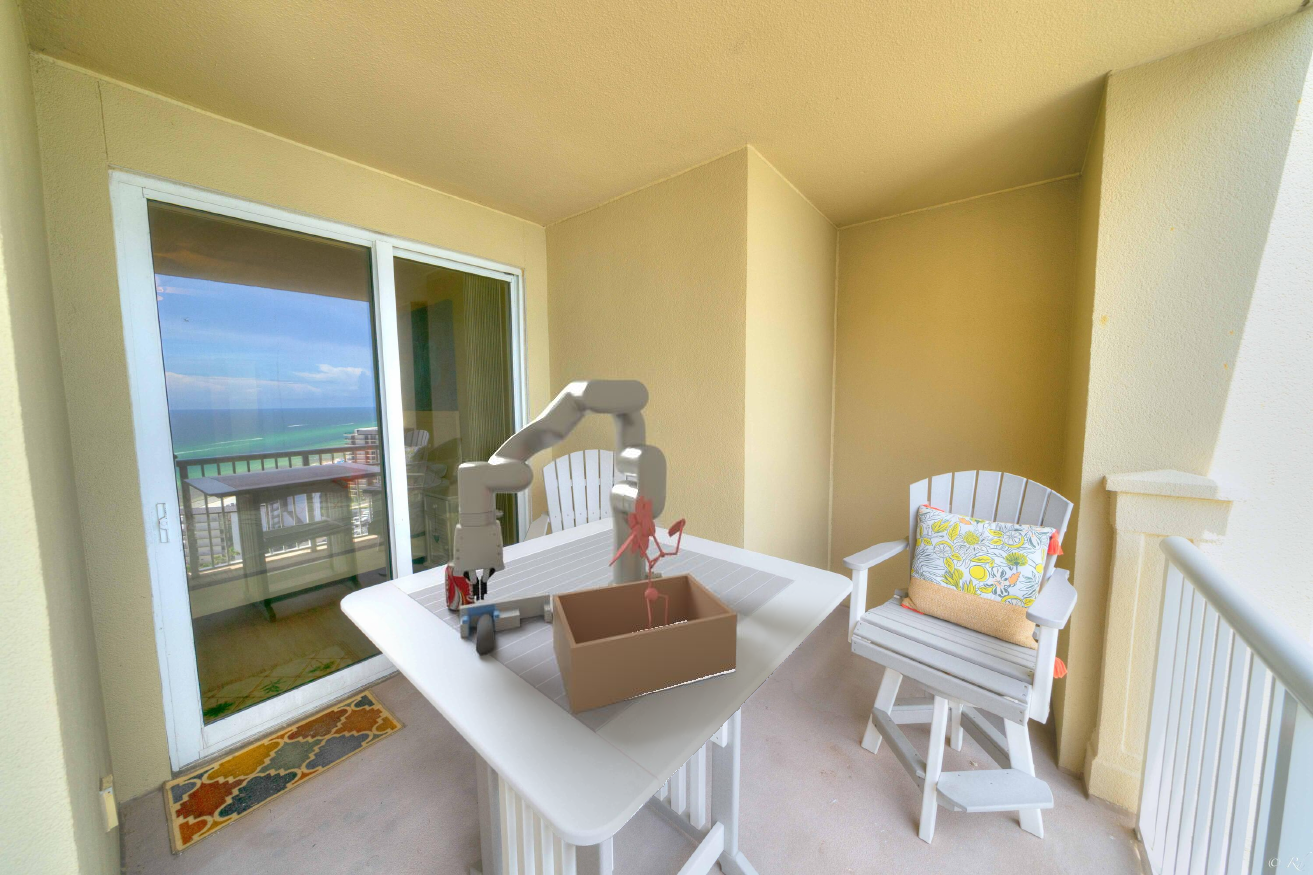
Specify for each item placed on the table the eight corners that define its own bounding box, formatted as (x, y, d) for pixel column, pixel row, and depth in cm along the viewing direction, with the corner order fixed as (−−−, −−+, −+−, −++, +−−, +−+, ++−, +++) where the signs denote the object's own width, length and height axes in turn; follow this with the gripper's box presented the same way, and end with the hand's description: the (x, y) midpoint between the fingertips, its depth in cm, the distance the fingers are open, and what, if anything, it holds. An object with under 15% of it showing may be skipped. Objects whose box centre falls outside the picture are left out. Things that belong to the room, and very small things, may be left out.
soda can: (464, 613, 110) (462, 567, 109) (439, 610, 112) (438, 565, 111) (480, 600, 117) (479, 558, 116) (457, 598, 119) (456, 556, 118)
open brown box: (688, 619, 107) (688, 573, 106) (735, 671, 87) (736, 614, 86) (553, 647, 95) (552, 594, 94) (571, 714, 75) (571, 648, 74)
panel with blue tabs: (549, 610, 112) (549, 592, 111) (552, 620, 107) (552, 601, 106) (460, 625, 104) (459, 605, 104) (459, 637, 99) (458, 616, 99)
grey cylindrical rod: (474, 625, 103) (481, 611, 103) (489, 629, 104) (496, 615, 104) (473, 653, 92) (480, 637, 92) (489, 657, 93) (497, 641, 93)
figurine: (694, 636, 100) (693, 486, 97) (647, 708, 76) (643, 514, 74) (635, 623, 106) (632, 483, 103) (574, 686, 83) (568, 507, 80)
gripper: (512, 510, 102) (514, 586, 103) (441, 516, 96) (444, 596, 98) (514, 518, 95) (516, 599, 96) (438, 525, 89) (441, 611, 91)
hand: (480, 597), depth 97 cm, fingers closed
